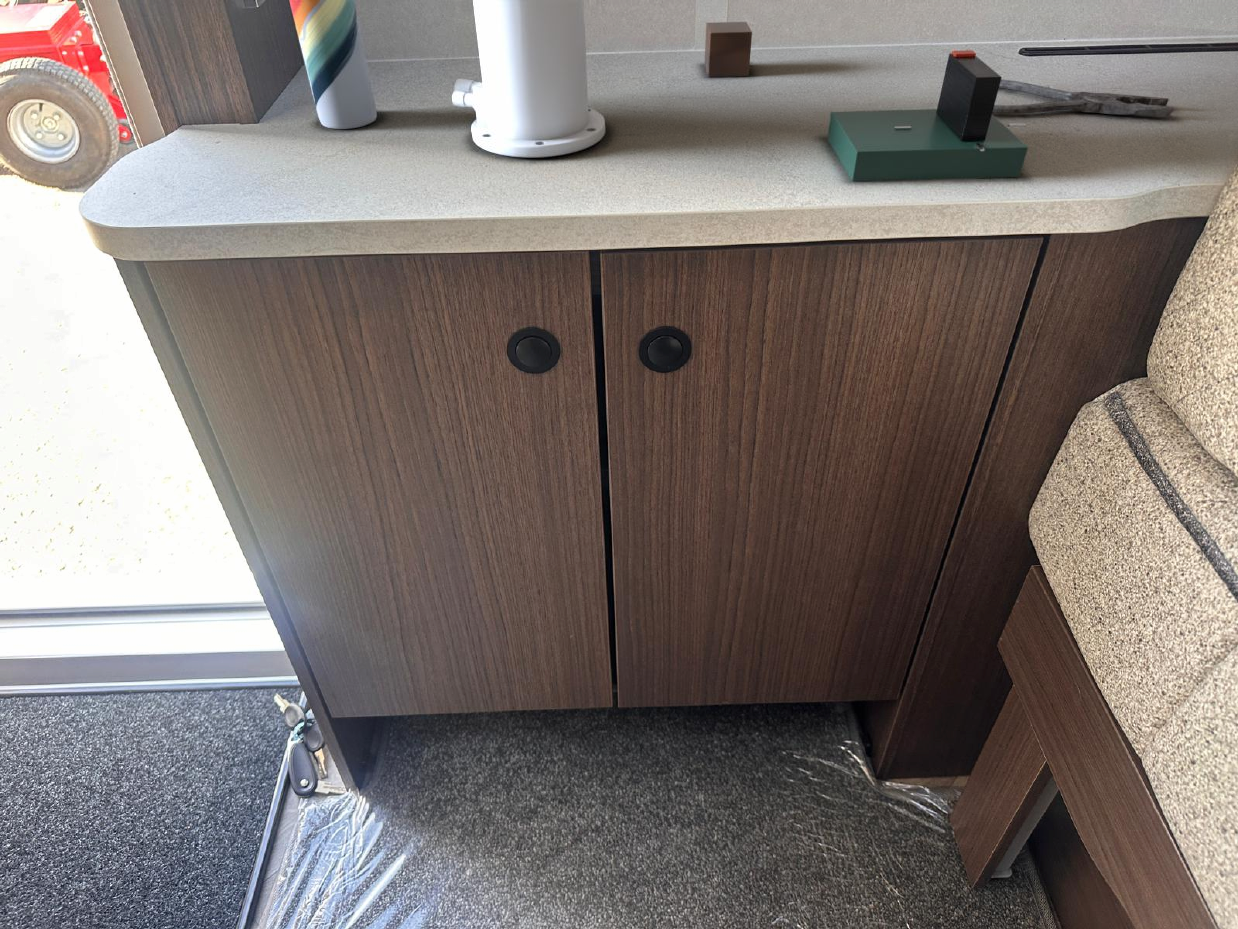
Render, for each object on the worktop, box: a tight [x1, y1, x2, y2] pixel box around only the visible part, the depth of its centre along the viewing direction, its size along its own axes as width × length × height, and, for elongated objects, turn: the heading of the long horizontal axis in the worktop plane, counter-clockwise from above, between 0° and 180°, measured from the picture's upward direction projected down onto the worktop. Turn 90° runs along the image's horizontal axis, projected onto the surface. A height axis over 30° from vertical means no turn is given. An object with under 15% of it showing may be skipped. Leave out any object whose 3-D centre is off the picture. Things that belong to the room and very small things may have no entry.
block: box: [703, 21, 753, 78], centre depth 93 cm, size 4×4×4 cm
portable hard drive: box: [936, 49, 1002, 141], centre depth 70 cm, size 7×2×5 cm, turn 1°
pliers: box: [992, 78, 1174, 118], centre depth 84 cm, size 10×1×20 cm
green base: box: [826, 105, 1029, 182], centre depth 72 cm, size 16×11×3 cm
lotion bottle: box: [289, 0, 378, 130], centre depth 77 cm, size 6×6×20 cm
